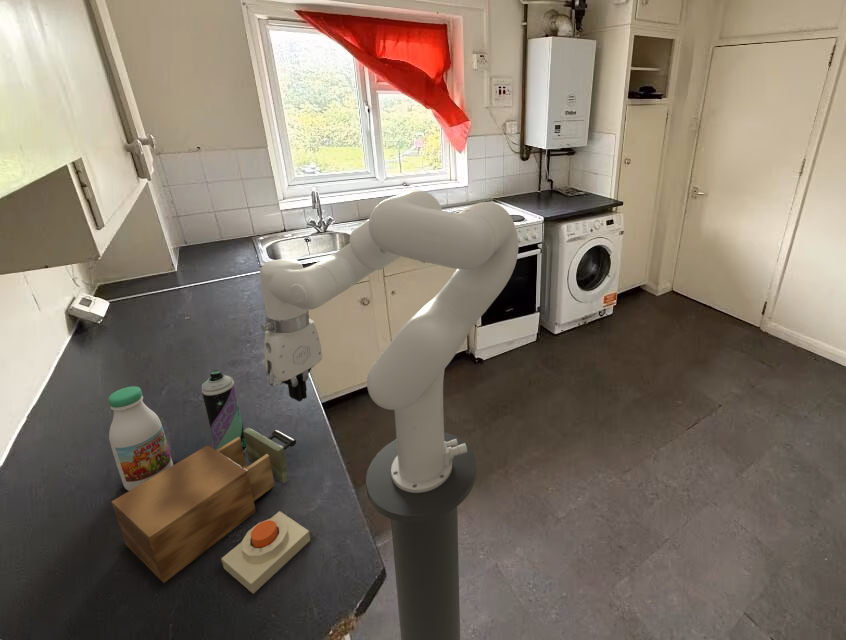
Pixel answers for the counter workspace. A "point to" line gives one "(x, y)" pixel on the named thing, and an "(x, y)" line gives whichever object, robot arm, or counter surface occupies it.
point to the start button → (264, 534)
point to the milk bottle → (137, 438)
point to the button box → (265, 553)
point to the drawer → (260, 459)
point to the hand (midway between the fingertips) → (298, 397)
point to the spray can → (223, 409)
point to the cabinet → (184, 510)
